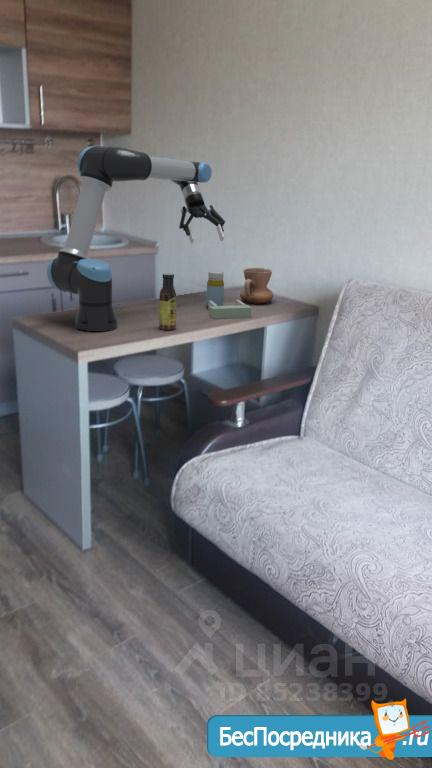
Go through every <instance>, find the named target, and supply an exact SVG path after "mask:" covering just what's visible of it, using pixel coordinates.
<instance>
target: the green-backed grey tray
mask: <svg viewBox="0 0 432 768" xmlns="http://www.w3.org/2000/svg"><path fill="white" fill-rule="evenodd" d="M207 310H208V313H209V314H208V315H209V318H211V320H217V319H219V320H220V319H244V318H245V319H246V318H247V319H249V318H252V307H251V306H250V305H249V304H245V303H244V302H243V301H242V300H240V299H236V300H235V305H223V306H217V305H216V304H215V303H214V302H213V301H209V306H208V308H207Z"/></svg>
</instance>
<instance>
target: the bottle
mask: <svg viewBox="0 0 432 768" xmlns="http://www.w3.org/2000/svg"><path fill="white" fill-rule="evenodd" d="M207 278H208V280H207V283H206V303H205V305H206V308H207V309H208V306H209V301H213V302H214V303H215V304H216V305H217V306H224V297H225V296H224V294H225V283H224V271H221V270H210V271H209V270H208V277H207Z"/></svg>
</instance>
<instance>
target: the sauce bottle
mask: <svg viewBox="0 0 432 768" xmlns="http://www.w3.org/2000/svg"><path fill="white" fill-rule="evenodd" d="M174 279H175V274H174V273H173V272H164V273H162V287H161V289H160V291H159V300H158V301H159V304H158V323H159V324H158V326H159V329H160V330H165V331H169V330H171V331H172V330H175V329H176V325H177V300H178V298H177V293H176V291H175V290H176V289H175V287H174Z"/></svg>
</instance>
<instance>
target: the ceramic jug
mask: <svg viewBox="0 0 432 768" xmlns="http://www.w3.org/2000/svg"><path fill="white" fill-rule="evenodd" d="M272 274H273V270H272V269H271V268H265V267H248V268H245V269H243V276H244V279H245V281H244V286H243V287H244V289H243V290H241V291H240V293H239V297H240V298H241V299H242V301H244V302H247V303H249V304H254V303H256V304H261V303H262V304H266V303H269V302H271V301H272V300H273V298H274V293H273V291H272V290H270V289H269V288H268V287H267V286H268V284H269V282H270V280H271V277H272ZM262 304H261V305H262Z"/></svg>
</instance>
